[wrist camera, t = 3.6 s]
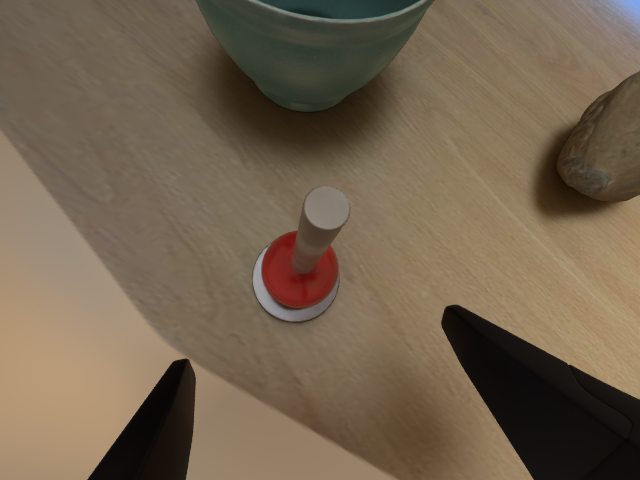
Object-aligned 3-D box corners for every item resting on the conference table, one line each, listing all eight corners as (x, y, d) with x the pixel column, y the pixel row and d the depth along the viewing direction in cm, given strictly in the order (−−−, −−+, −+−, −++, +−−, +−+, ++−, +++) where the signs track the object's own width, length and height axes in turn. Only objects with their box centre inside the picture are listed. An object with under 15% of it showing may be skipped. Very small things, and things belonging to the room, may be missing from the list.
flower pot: (391, 158, 24) (475, 41, 14) (196, 138, 22) (125, -15, 12) (385, 17, 29) (445, -153, 18) (220, -11, 27) (183, -219, 16)
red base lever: (307, 339, 20) (370, 389, 6) (236, 291, 20) (142, 235, 6) (350, 268, 21) (475, 183, 8) (285, 224, 22) (294, 68, 8)
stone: (593, 89, 30) (700, 11, 23) (658, 148, 29) (793, 88, 22) (503, 176, 26) (598, 116, 18) (576, 249, 25) (710, 219, 17)
